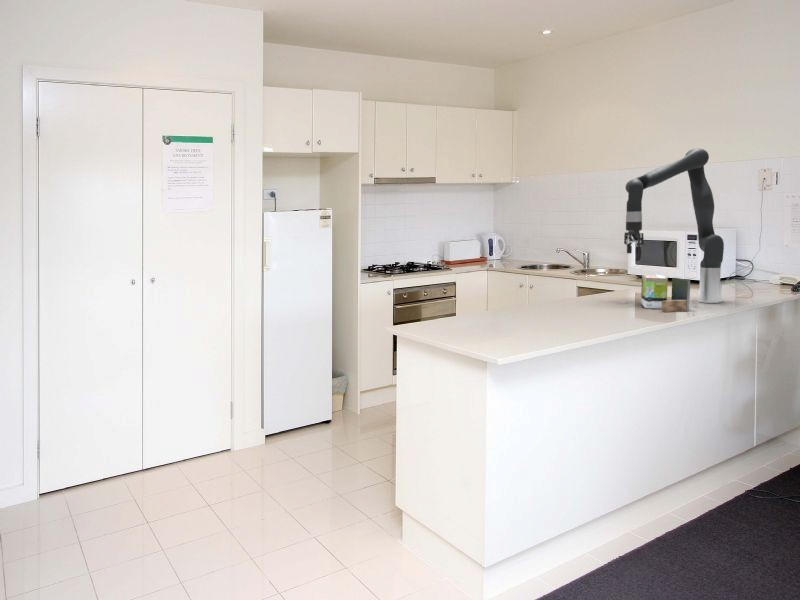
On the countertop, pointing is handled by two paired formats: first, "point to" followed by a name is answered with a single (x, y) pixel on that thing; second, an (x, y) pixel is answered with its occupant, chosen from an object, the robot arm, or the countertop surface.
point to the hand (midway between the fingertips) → (633, 253)
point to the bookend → (681, 290)
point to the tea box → (653, 290)
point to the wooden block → (674, 305)
